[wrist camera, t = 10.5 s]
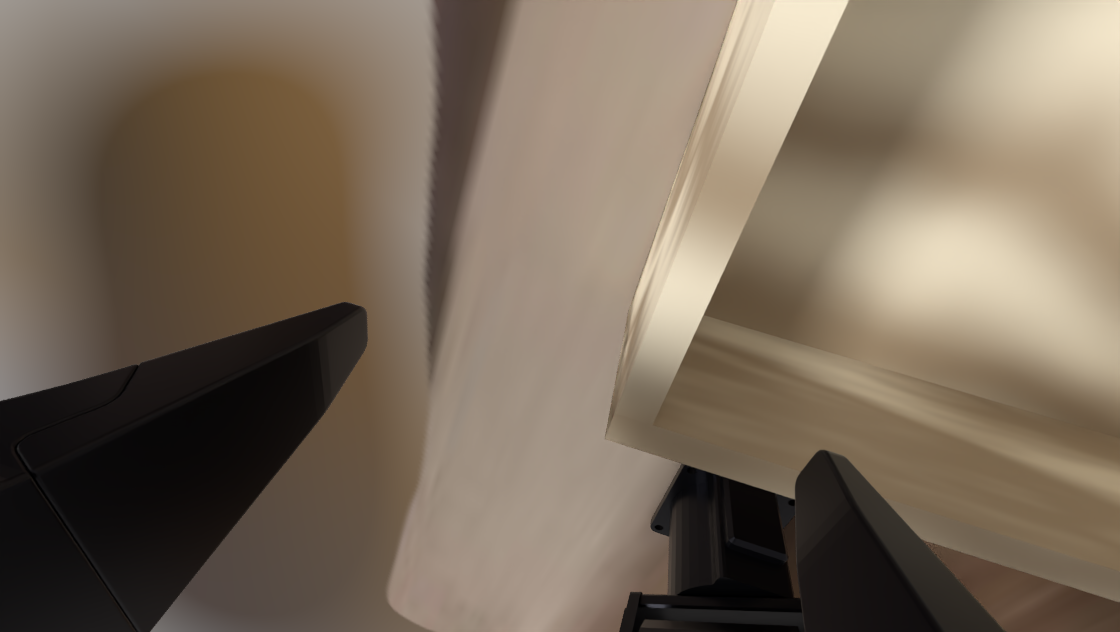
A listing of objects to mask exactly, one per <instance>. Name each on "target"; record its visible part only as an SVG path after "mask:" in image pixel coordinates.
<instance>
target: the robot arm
mask: <svg viewBox="0 0 1120 632" xmlns="http://www.w3.org/2000/svg"><path fill="white" fill-rule="evenodd" d="M367 341H368V334H367V312H366V310H365V308H363V307H361V306H358V305H355V304H352V303H348V302H342V303H339V304H335V305H332V306H329V307H325V308H322V309H318V310H315V311H312V312H308V313H305V314H302V315H298V316H295V317H292V318H288V319H285V320H282V321H278V322H275V323H272V324H268V325H265V326H262V327H259V328H255V329H252V330H248V331H245V332H242V333H238V334H235V335H232V336H228V337H225V338H222V339H218V340H215V341H212V342H208V343H205V344H202V345H198V346H195V347H192V348H188V349H185V350H182V351H178V352H175V353H172V354H169V355H165V356H161V357H158V358H155V359H152V360H148V361H145V362H142V363H140V365H131V366H128V367H125V368H121V369H118V370H115V371H111V372H108V373H104V374H101V375H97V376H94V377H90V378H87V379H84V380H80V381H76V382H73V383H69V384H66V385H62V386H58V387H54V388H51V389H46V390H42V391H39V392H35V393H31V394H27V395H23V396H19V397H15V398H11V399H7V400H3V401H0V632H150V631H151V630H152V629H153V627H154V626H155V625H156V624H157V622H158V621H159V620H160V619H161V617H162V616H163V615H164V614H165V612H166V611H167V610H168V609H169V607H170V606H171V605H172V604H173V602H174V601H175V600H176V599H177V597H178V596H179V595H180V593H181V592H182V591H183V590H184V589H185V587H186V586H187V585H188V584H189V582H190V581H191V580H192V579H193V577H194V576H195V575H196V574H197V572H198V571H199V570H200V569H201V567H202V566H203V565H204V564H205V562H206V561H207V560H208V559H209V557H210V556H211V555H212V554H213V552H214V551H215V550H216V549H217V547H218V546H219V545H220V544H221V542H222V541H223V540H224V539H225V537H226V536H227V535H228V534H229V532H230V531H231V530H232V529H233V527H234V526H235V525H236V524H237V523H238V521H239V520H240V519H241V518H242V516H243V515H244V514H245V513H246V511H247V510H248V509H249V507H250V506H251V505H252V504H253V503H254V501H255V500H256V499H257V497H258V496H259V495H260V494H261V493H262V491H263V490H264V489H265V487H266V486H267V485H268V484H269V483H270V481H271V480H272V479H273V478H274V476H275V475H276V474H277V472H278V471H279V470H280V469H281V468H282V466H283V465H284V464H285V463H286V461H287V460H288V459H289V458H290V456H291V455H292V454H293V453H294V451H295V450H296V449H297V447H298V446H299V445H300V444H301V443H302V441H303V440H304V439H305V438H306V436H307V435H308V434H309V433H310V431H311V430H312V429H313V427H314V426H315V425H316V424H317V423H318V421H319V420H320V419H321V417H322V416H323V415H324V413H325V412H326V410H327V409H328V408H329V406H330V405H331V403H332V402H333V400H334V399H335V397H336V395H337V394H338V392H339V391H340V389H341V387H342V386H343V384H344V383H345V381H346V379H347V378H348V376H349V375H350V373H351V372H352V370H353V368H354V367H355V365H356V364H357V362H358V360H359V359H360V357H361V356H362V354H363V353H364V351H365V348H366V346H367ZM690 467H691V466H688V465H685V464H681V466H680V468H679V470H678V472H677V473H676V475H675V477H674V479H673V481H672V482H671V484H670V486H669V488H668V490H667V492H666V493H665V495H664V497H663V499H662V501H661V502H660V504H659V506H658V508H657V510H656V512H655V513H654V515H653V517H652V519H651V529H652V530H653V531H655V532H657V533H660V534H663V535H666V536H669V564H668V595H654V594H642V592H630V596H629V600H628V604H627V608H625V610H624V614H623V619H622V623H621V627H620V631H619V632H1006V631H1005V630H1004V629H1003V628H1002V627H1001V626H1000V625H999V624H998V623H997V622H996V620H995V619H994V618H993V617H992V616H991V615H990V614H989V613H988V612H987V611H986V610H985V608H984V607H983V606H982V605H981V604H980V603H979V602H978V601H977V600H976V599H975V598H974V596H973V595H972V594H971V593H970V592H969V591H968V590H967V589H966V588H965V587H964V586H963V584H962V583H961V582H960V581H959V580H958V579H957V578H956V577H955V576H954V575H953V573H952V572H951V571H950V570H949V569H948V568H947V567H946V566H945V565H944V564H943V563H942V561H941V560H940V559H939V558H938V557H937V556H936V555H935V554H934V553H933V552H932V551H931V549H930V548H929V547H928V546H927V545H926V544H925V543H924V542H923V541H922V540H921V539H920V537H919V536H918V535H917V534H916V533H915V532H914V531H913V530H912V529H911V528H910V526H909V525H908V524H907V523H906V522H905V521H904V520H903V519H902V518H901V517H900V516H899V514H898V513H897V512H896V511H895V510H894V509H893V508H892V507H891V506H890V505H889V504H888V502H887V501H886V500H885V499H884V498H883V497H882V496H881V495H880V494H879V493H878V492H877V490H876V489H875V488H874V487H873V486H872V485H871V484H870V483H869V482H868V481H867V479H866V478H865V477H864V476H863V475H862V474H861V473H860V472H859V471H858V470H857V469H856V467H855V466H854V465H853V464H852V463H851V462H850V461H849V460H848V459H847V458H846V457H845V456H843V455H841V454H838V453H835V452H832V451H828V450H824V449H823V450H819V451H817V452H816V453H815V454H814V456H813V457H812V458H811V459H810V461H809V462H808V463H807V465H806V466H805V467H804V468H803V470H802V471H801V472H800V473H799V475H798V477H797V479H796V482H795V499H792V498H789V497H786V496H783V495H779V494H776V493H773V492H770V491H767V490H764V489H761V488H757V487H754V486H751V485H748V484H745V483H742V482H739V481H735V480H732V479H729V478H726V477H723V476H720V475H716V474H713V473H710V472H707V471H704V470H701V469H698V468H694V467H693V468H690ZM794 515H795V531H796V564H797V574H798V583H799V591H800V598H794V592H793V587H792V582H791V577H790V571H789V566H788V561H787V560H788V553H787V547H786V542H785V537H784V532H783V529H784V527H785V526H786V525H787V524H788V523H789V521H790V520H791V519H792V518H793V517H794Z"/></svg>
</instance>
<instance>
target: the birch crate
mask: <svg viewBox="0 0 1120 632" xmlns="http://www.w3.org/2000/svg"><path fill="white" fill-rule="evenodd" d="M605 439H606V440H609V441H613V442H616V443H619V444H622V445H625V446H628V447H631V448H635V449H638V450H641V451H644V452H647V453H650V454H653V455H657V456H660V457H663V458H666V459H669V460H672V461H676V462H679V463H682V464H685V465H688V466H691V467H694V468H698V469H701V470H704V471H707V472H710V473H713V474H716V475H720V476H723V477H726V478H729V479H732V480H735V481H739V482H742V483H745V484H748V485H751V486H754V487H757V488H761V489H764V490H767V491H770V492H773V493H776V494H779V495H783V496H786V497H789V498H792V499H795V482H796V479H797V477H798V475H799V473H800V472H801V471H802V470H803V468H804V467H805V466H806V465H807V463H808V462H809V461H810V459H811V458H812V457H813V456H814V454H815V453H816V452H817V451H819V450H823V449H824V450H828V451H832V452H835V453H838V454H841V455H843V456H845V457H846V458H847V459H848V460H849V461H850V462H851V463H852V464H853V465H854V466H855V467H856V469H857V470H858V471H859V472H860V473H861V474H862V475H863V476H864V477H865V478H866V479H867V481H868V482H869V483H870V484H871V485H872V486H873V487H874V488H875V489H876V490H877V492H878V493H879V494H880V495H881V496H882V497H883V498H884V499H885V500H886V501H887V502H888V504H889V505H890V506H891V507H892V508H893V509H894V510H895V511H896V512H897V513H898V514H899V516H900V517H901V518H902V519H903V520H904V521H905V522H906V523H907V524H908V525H909V526H910V528H911V529H912V530H913V531H914V532H915V533H916V534H917V535H918V536H919V537H920V539H921V540H924V541H927V542H931V543H934V544H937V545H940V546H943V547H946V548H950V549H953V550H956V551H959V552H962V553H965V554H968V555H972V556H975V557H978V558H981V559H984V560H987V561H990V562H994V563H997V564H1000V565H1003V566H1006V567H1009V568H1013V569H1016V570H1019V571H1022V572H1025V573H1028V574H1031V575H1035V576H1038V577H1041V578H1044V579H1047V580H1050V581H1053V582H1057V583H1060V584H1063V585H1066V586H1069V587H1072V588H1076V589H1079V590H1082V591H1085V592H1088V593H1091V594H1094V595H1098V596H1101V597H1104V598H1107V599H1110V600H1113V601H1116V602H1120V0H738V1H737V4H736V7H735V10H734V13H733V15H732V18H731V21H730V24H729V27H728V30H727V32H726V35H725V38H724V41H723V44H722V47H721V49H720V52H719V55H718V58H717V61H716V64H715V67H714V69H713V72H712V75H711V78H710V81H709V84H708V86H707V89H706V92H705V95H704V98H703V101H702V104H701V106H700V109H699V112H698V115H697V118H696V121H695V123H694V126H693V129H692V132H691V135H690V138H689V140H688V143H687V146H686V149H685V152H684V155H683V158H682V160H681V163H680V166H679V169H678V172H677V175H676V177H675V180H674V183H673V186H672V189H671V192H670V195H669V197H668V200H667V203H666V206H665V209H664V212H663V214H662V217H661V220H660V223H659V226H658V229H657V232H656V234H655V237H654V240H653V243H652V246H651V249H650V251H649V254H648V257H647V260H646V263H645V266H644V268H643V271H642V274H641V277H640V280H639V283H638V286H637V288H636V291H635V294H634V297H633V300H632V303H631V305H630V308H629V311H628V316H627V322H626V327H625V332H624V338H623V343H622V349H621V354H620V359H619V365H618V370H617V375H616V381H615V386H614V391H613V397H612V402H611V408H610V413H609V418H608V424H607V429H606V434H605Z"/></svg>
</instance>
